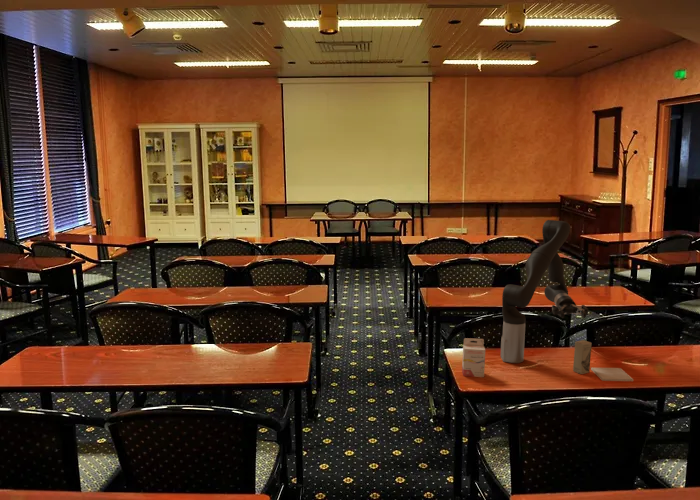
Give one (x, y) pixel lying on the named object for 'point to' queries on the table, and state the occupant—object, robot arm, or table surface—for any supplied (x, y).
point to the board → (611, 374)
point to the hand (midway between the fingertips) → (573, 316)
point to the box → (582, 357)
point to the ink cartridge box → (473, 358)
